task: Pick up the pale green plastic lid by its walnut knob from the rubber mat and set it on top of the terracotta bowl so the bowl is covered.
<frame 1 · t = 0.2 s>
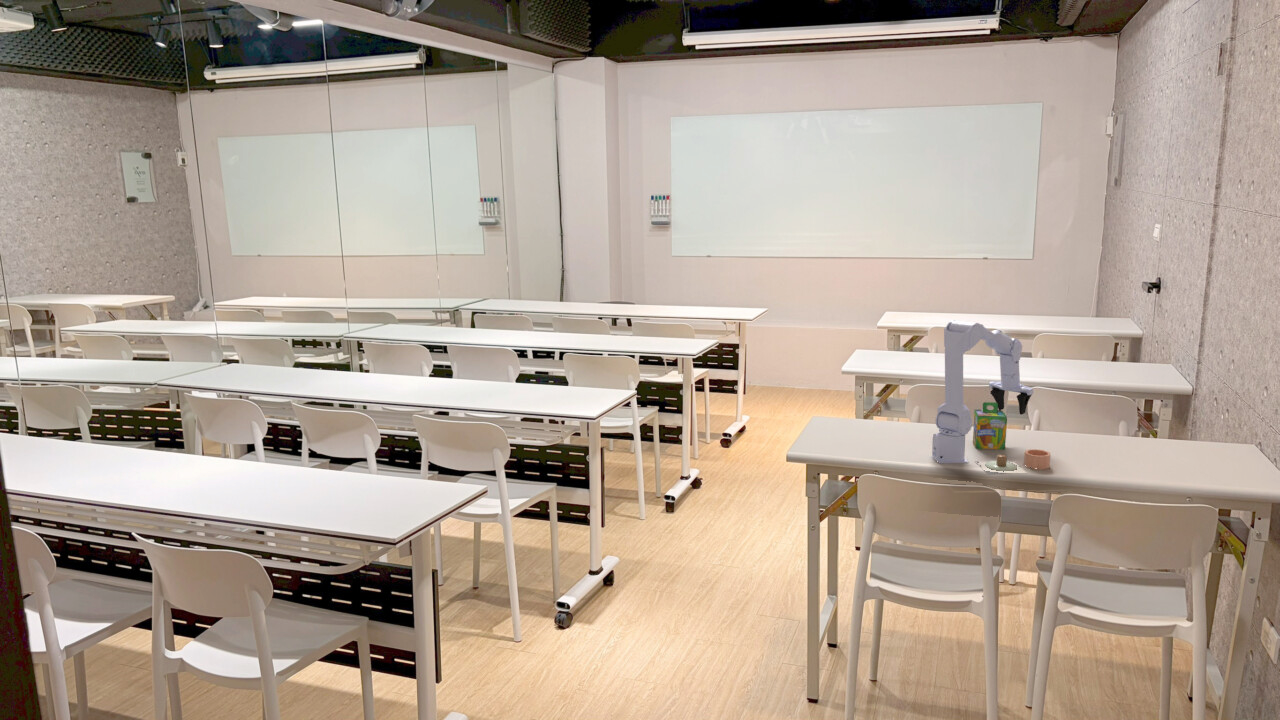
hand: (1011, 411, 286), 11 cm above the table, tool pointing down, fingers open, 7 cm apart
lid: (1001, 467, 261), resting on mat
mat: (1001, 468, 261), on the table
bowl: (1036, 467, 262), on the table
chalk box: (988, 447, 284), on the table
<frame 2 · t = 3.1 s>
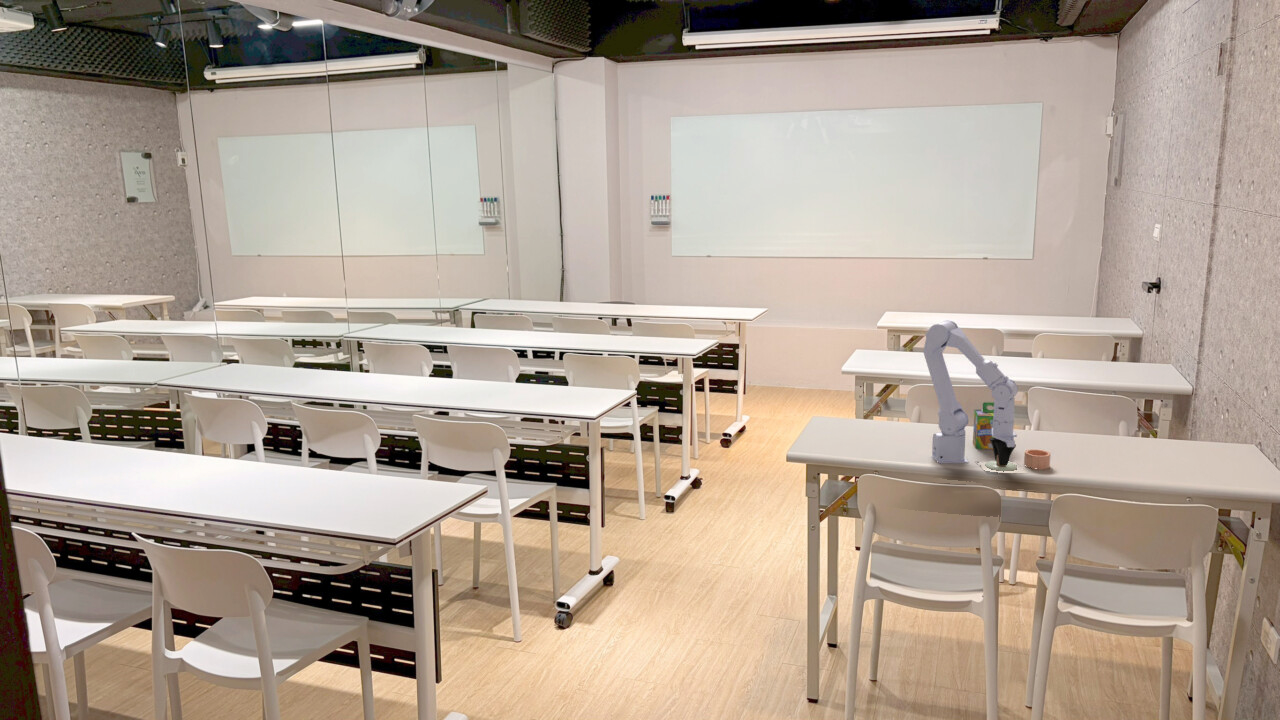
hand: (1001, 463, 261), 2 cm above the table, tool pointing down, fingers closed on lid, 3 cm apart
lid: (1001, 467, 261), resting on mat, touching gripper
everything else where it was.
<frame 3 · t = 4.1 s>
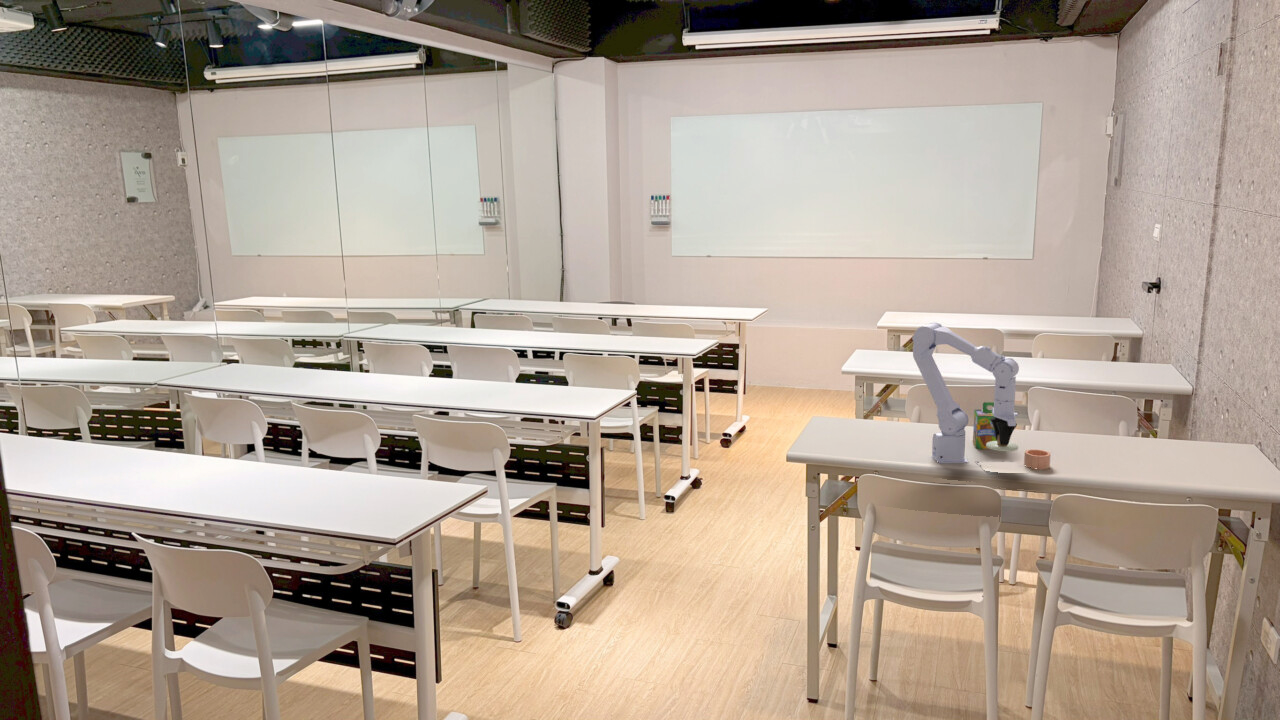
hand: (1002, 442, 260), 8 cm above the table, tool pointing down, fingers closed on lid, 3 cm apart
lid: (1002, 447, 260), point 7 cm above the table, touching gripper
everything else where it was.
when the fingers open (7 cm above the table, at t = 5.5 s): lid drops 1 cm, resting on bowl.
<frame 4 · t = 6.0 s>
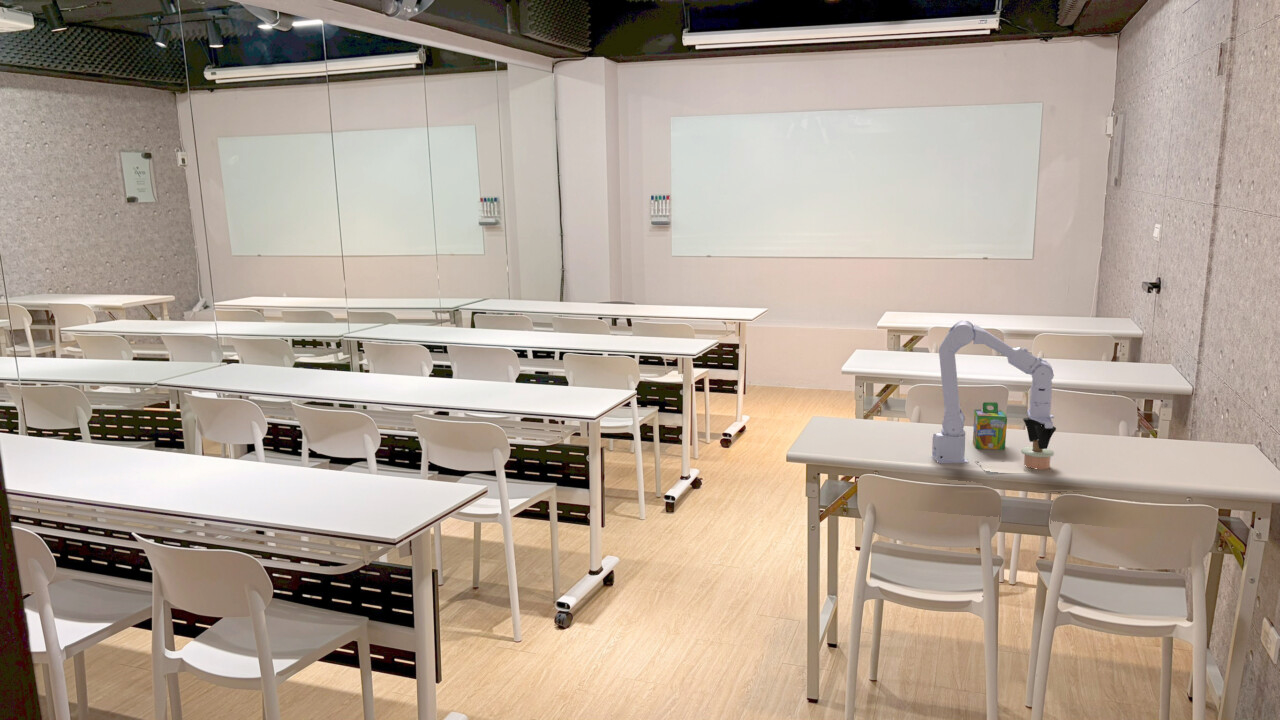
hand: (1038, 444, 260), 7 cm above the table, tool pointing down, fingers open, 7 cm apart
lid: (1037, 452, 261), point 4 cm above the table, touching bowl
bowl: (1036, 467, 262), on the table, touching lid
everything else where it was.
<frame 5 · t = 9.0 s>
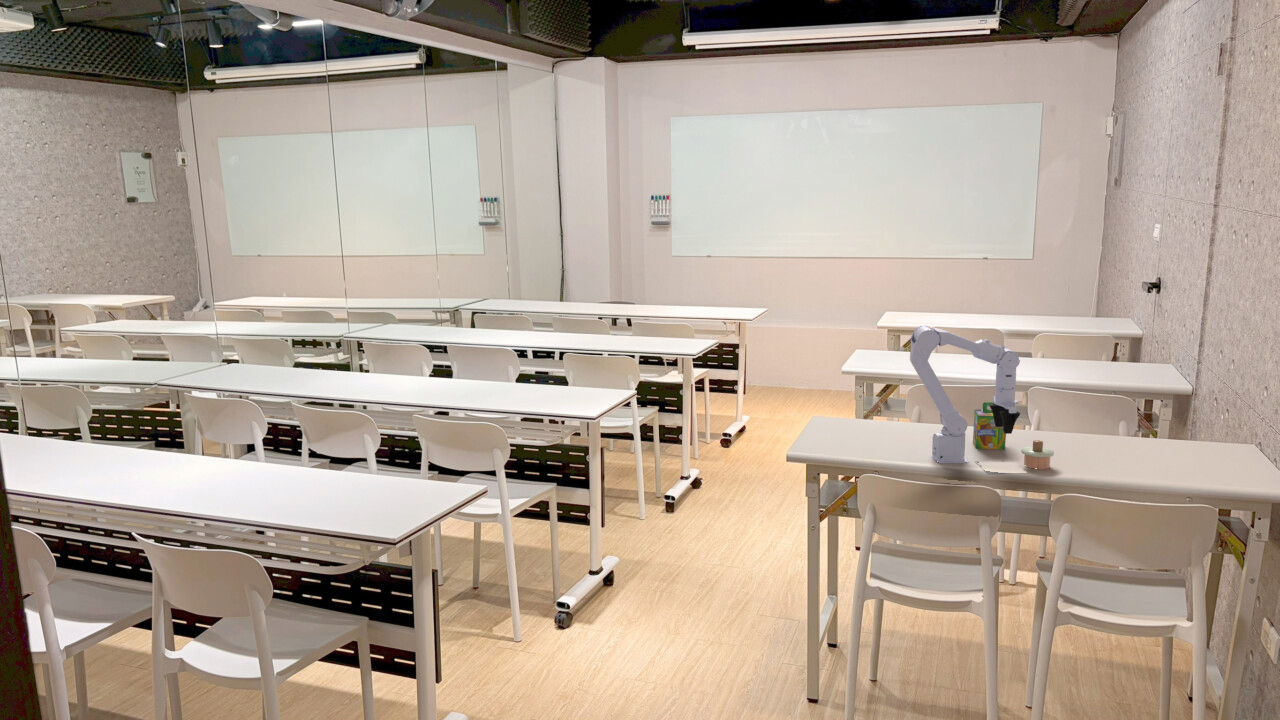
hand: (1003, 429, 267), 10 cm above the table, tool pointing down, fingers open, 7 cm apart
nothing on the table moved.
at the end: lid 0.1 cm off-centre on the bowl, point 4.5 cm above the bowl's base; lid tilted 0°; the gripper is holding nothing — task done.
